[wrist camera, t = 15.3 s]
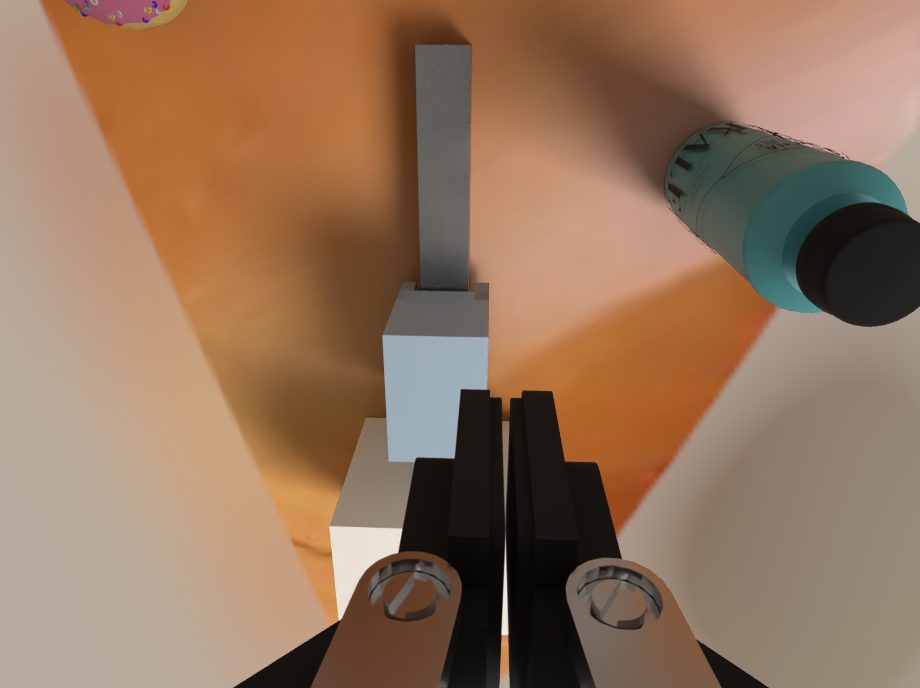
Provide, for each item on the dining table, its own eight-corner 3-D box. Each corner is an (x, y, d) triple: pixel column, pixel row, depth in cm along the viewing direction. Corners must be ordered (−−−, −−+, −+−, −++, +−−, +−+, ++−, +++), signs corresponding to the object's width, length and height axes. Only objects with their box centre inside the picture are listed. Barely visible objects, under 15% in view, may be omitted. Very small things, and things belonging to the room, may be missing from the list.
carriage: (402, 281, 42) (382, 335, 35) (488, 282, 42) (488, 337, 34) (406, 389, 46) (388, 461, 38) (486, 391, 46) (485, 464, 38)
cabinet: (360, 417, 48) (322, 526, 37) (529, 421, 48) (540, 533, 37) (366, 504, 51) (333, 628, 41) (524, 509, 51) (533, 635, 40)
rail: (419, 44, 38) (415, 44, 35) (471, 44, 37) (470, 44, 35) (427, 418, 48) (423, 437, 46) (467, 420, 48) (466, 438, 46)
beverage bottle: (762, 216, 41) (981, 353, 23) (654, 232, 42) (782, 377, 23) (765, 107, 38) (1016, 162, 20) (650, 125, 39) (790, 195, 21)
